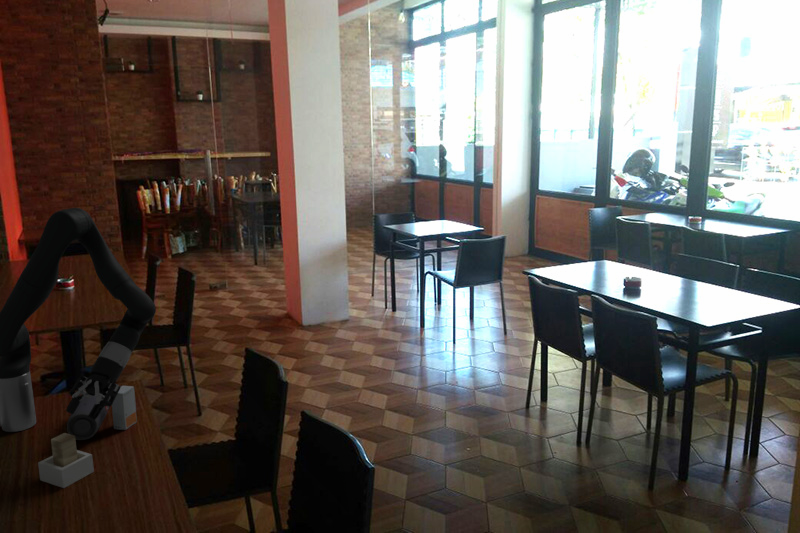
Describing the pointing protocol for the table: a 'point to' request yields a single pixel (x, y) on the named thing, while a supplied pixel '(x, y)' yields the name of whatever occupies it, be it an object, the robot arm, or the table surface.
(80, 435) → the bluetooth speaker
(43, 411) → the table surface
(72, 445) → the birch peg
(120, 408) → the skincare box
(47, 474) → the socket stand
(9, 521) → the table surface
